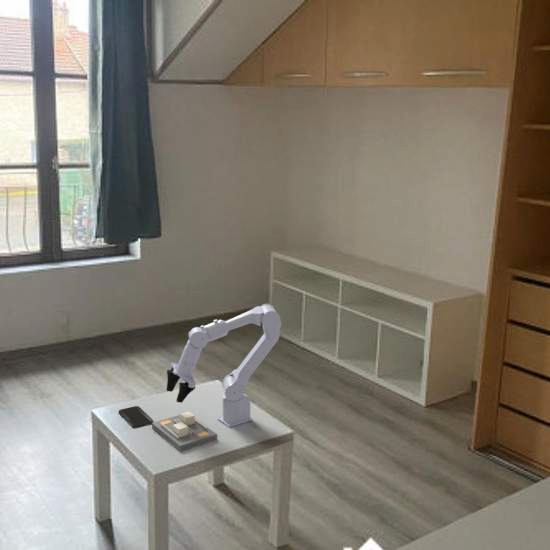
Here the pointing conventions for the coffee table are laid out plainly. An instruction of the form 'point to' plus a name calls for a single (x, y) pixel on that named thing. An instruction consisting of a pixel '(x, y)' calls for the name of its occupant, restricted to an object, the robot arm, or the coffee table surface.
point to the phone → (135, 416)
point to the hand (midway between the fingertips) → (174, 396)
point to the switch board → (195, 436)
